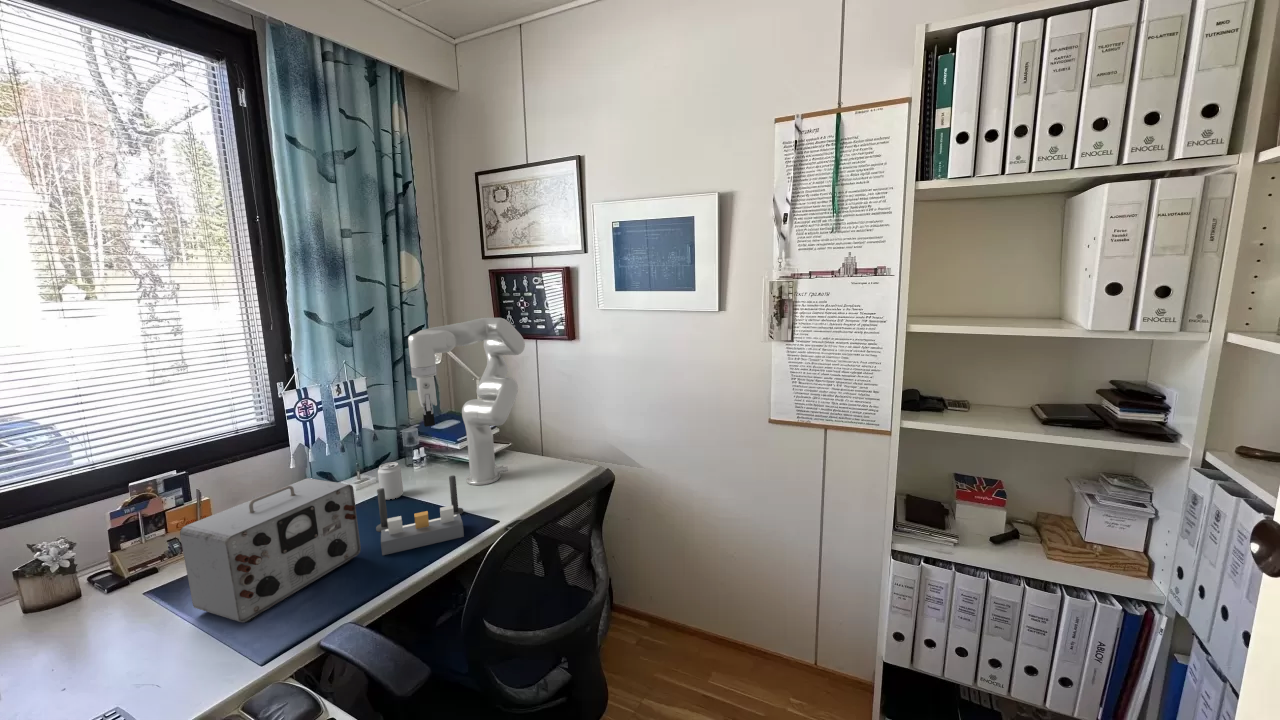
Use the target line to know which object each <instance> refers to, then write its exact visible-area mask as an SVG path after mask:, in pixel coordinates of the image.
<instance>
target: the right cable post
mask: <svg viewBox="0 0 1280 720" xmlns="http://www.w3.org/2000/svg"><path fill="white" fill-rule="evenodd" d="M456 477H457V476H456V475H449V476H448V479H449V480H448V481H449V492H450V493H449V494H450V501H451V506H452V505H453V510H454V515H455V514H461V515H463V514H464V508H463V507H459V502H458V501H459V500H458V491H457V490H458V489H457V488H458V487H457V478H456ZM462 513H463V514H462Z"/></svg>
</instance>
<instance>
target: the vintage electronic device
mask: <svg viewBox="0 0 1280 720" xmlns="http://www.w3.org/2000/svg"><path fill="white" fill-rule="evenodd" d="M355 498H356V497H355V491H354V487H353V485H352V484H349V483H343V482H342V483H341V482H336V481H329V480H322V479H316V478H315V479H314V478H311V477H310V478H309V477H308V478H304V479H302V480H299V481H297V482H294V483H291V484H288V485H287V486H283V487H280V488H278V489H276V490H272V491H271V492H268V493H265V494H263V495H260V496H258V497H255V498H253V499H250V500H248V501H245V502H242V503H240V504H237V505H234V506H232V507H230V508H227V509H225V510H222V511H220V512H217V513H214V514H212V515H209V516H207V517H204V518H202V519H199V520H196V521H193V522H192V523H188V524H186V525H185V526H183V527H182V528H181V529H179V530H180V532H179V536H180V542H181V549H182V552H183V553H182V554H183V559H184V564H185V570H186V575H187V580H188V585H189V591H190V596H191V602H192V606H193V608H194V609H197V610H199V611H200V610H201V611H204V612H207V613H210V614H213V615H217V616H221V617H223V618H227V619H230V620H233V621H236V622H239V623H249V622H251V621H253V620H254V619H255V618H256V617H257V616H258V615H259V614H261V613H263V612H264V611H266V610H268V609H269V608H272V607H273V606H275V605H276V604H278V603H280V602H281V601H283V600H285V599H286V598H287V597H290V596H292V595H293V594H294V593H296V592H298V591H300V590H302V589H303V588H305V587H307V586H309V585H310V584H312V583H313V582H315V581H316V580H318V579H320V578H322V577H324V576H325V575H327V574H328V573H331V572H332V571H333V570H335V569H337V568H338V567H340V566H342V565H346V564H348V563H350V561H351V560H353V559H354V558H356V557H357V556H358V555H359V554H360V553H361V549H362V548H361V547H362V546H361V541H360V533H359V532H360V531H359V524H358V514H357V507H356V499H355Z"/></svg>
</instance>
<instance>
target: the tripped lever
mask: <svg viewBox="0 0 1280 720" xmlns="http://www.w3.org/2000/svg"><path fill="white" fill-rule="evenodd" d="M429 520H430V519H429V512H428V510H426V511H421V512H416V513H414V523H415V526H416V529H419V528H423V527H428V526H429Z"/></svg>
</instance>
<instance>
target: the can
mask: <svg viewBox="0 0 1280 720" xmlns="http://www.w3.org/2000/svg"><path fill="white" fill-rule="evenodd" d="M377 477H378V478H377V479H378V486H379V487H378V489H381V488H384V491H385V500H387V501H390V499H392V500H396V499H398V498H400V497H401V496H402V495H403V494H404V487H403V485H404V484H403V476H402V467H401V466H400V465H399V463H398V462H397V461H396V462H395V461H393V462H385V463H383V464H381V465H379V468H378V470H377ZM395 498H396V499H395Z"/></svg>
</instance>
